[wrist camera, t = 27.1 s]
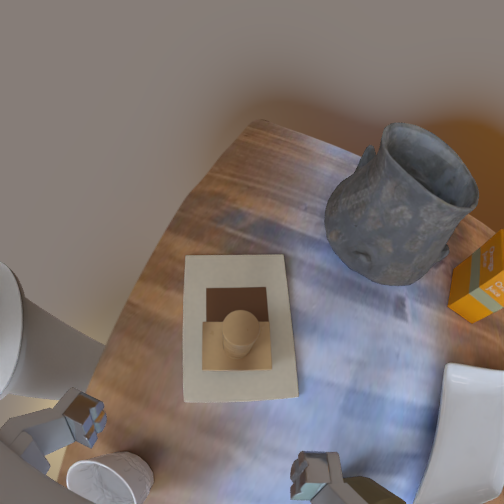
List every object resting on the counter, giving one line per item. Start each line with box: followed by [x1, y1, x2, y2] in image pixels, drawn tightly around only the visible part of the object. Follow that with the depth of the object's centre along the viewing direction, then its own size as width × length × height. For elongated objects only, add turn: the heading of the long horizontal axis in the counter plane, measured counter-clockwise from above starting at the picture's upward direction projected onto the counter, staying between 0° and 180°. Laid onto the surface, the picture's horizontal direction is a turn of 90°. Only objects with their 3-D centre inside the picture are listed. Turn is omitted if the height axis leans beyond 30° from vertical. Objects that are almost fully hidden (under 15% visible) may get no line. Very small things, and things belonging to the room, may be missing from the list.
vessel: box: [324, 123, 479, 286], centre depth 35 cm, size 22×22×20 cm
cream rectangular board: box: [183, 254, 299, 402], centre depth 35 cm, size 14×20×1 cm
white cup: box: [66, 452, 154, 504], centre depth 20 cm, size 8×8×10 cm
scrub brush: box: [202, 310, 272, 372], centre depth 27 cm, size 8×6×13 cm
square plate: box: [413, 362, 504, 504], centre depth 25 cm, size 27×27×4 cm
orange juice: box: [447, 229, 504, 323], centre depth 32 cm, size 8×9×20 cm
